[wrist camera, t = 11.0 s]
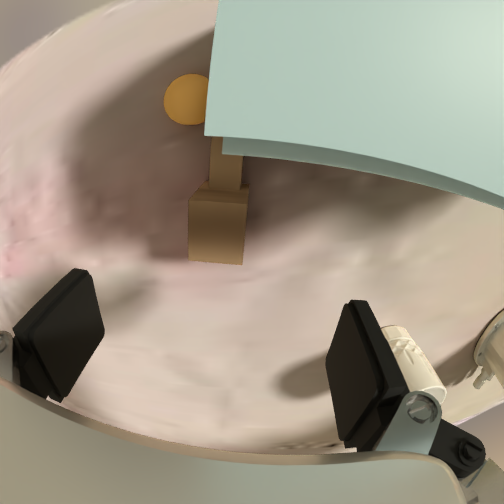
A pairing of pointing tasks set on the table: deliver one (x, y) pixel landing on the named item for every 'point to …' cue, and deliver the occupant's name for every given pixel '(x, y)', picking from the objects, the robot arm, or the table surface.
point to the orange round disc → (187, 99)
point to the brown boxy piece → (219, 211)
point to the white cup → (414, 363)
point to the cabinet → (365, 88)
